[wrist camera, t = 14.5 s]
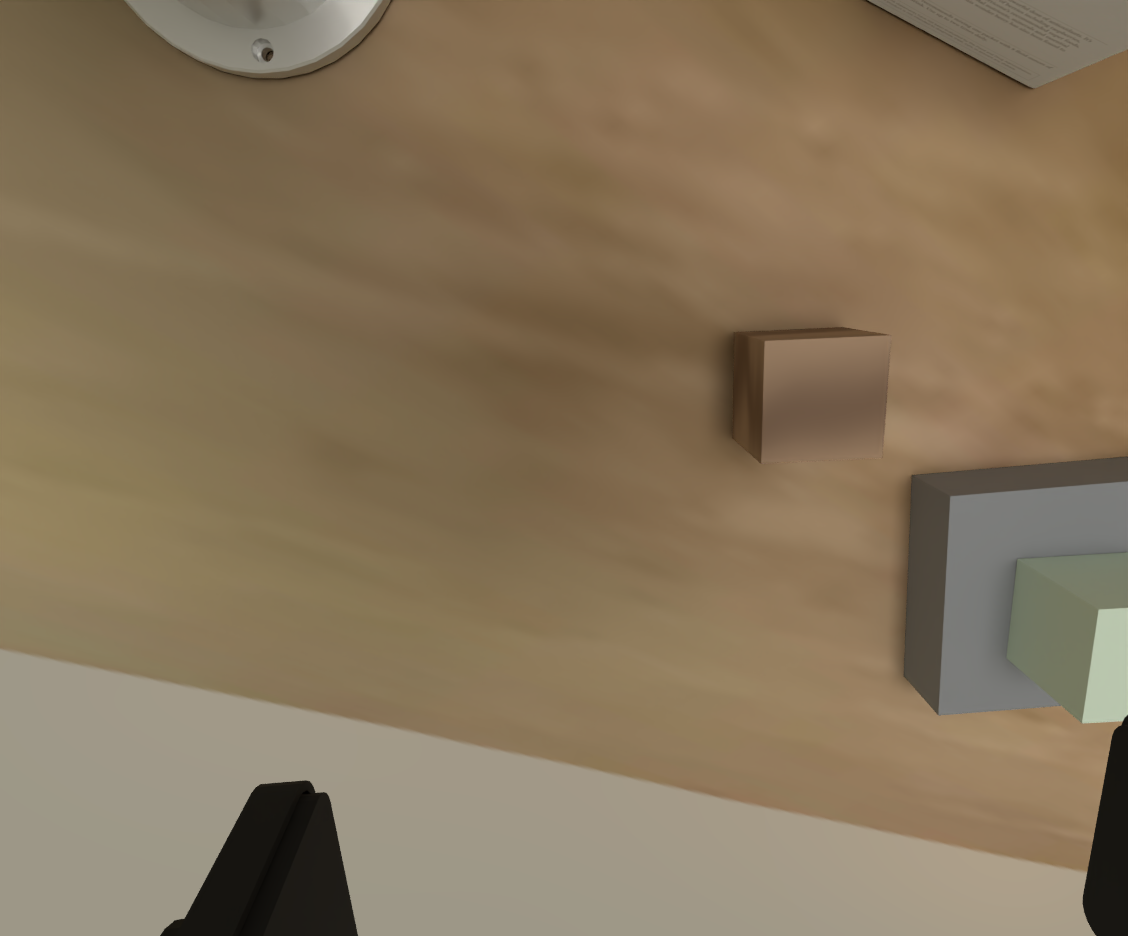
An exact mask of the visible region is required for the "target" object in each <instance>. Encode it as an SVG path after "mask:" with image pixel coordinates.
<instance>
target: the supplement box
mask: <svg viewBox="0 0 1128 936" xmlns="http://www.w3.org/2000/svg"><path fill="white" fill-rule="evenodd" d="M868 1H870V2H871V3H873V4H875V5H877V6H879V7H881V8H883V9H885V10H886V11H888V12H890V13H892V14H894V15H896V16H898V17H899V18H901V19H903V20H905V21H907V22H909V23H911V24H913V25H914V26H916V27H918V28H920V29H922V30H924V31H926V32H927V33H929V34H931V35H933V36H935V37H937V38H939V39H941V40H942V41H944V42H946V43H948V44H950V45H952V46H954V47H955V48H957V49H959V50H961V51H963V52H965V53H967V54H968V55H970V56H972V57H974V58H976V59H978V60H980V61H981V62H983V63H985V64H987V65H989V66H991V67H993V68H995V69H996V70H998V71H1000V72H1002V73H1004V74H1006V75H1008V76H1010V77H1011V78H1013V79H1015V80H1017V81H1019V82H1021V83H1023V84H1025V85H1027V86H1029V87H1031V88H1037V87H1040V86H1042V85H1044V84H1047V83H1049V82H1051V81H1054V80H1056V79H1058V78H1061V77H1063V76H1065V75H1068V74H1070V73H1073V72H1075V71H1077V70H1080V69H1082V68H1085V67H1087V66H1089V65H1092V64H1094V63H1096V62H1099V61H1101V60H1103V59H1106V58H1108V57H1110V56H1113V55H1115V54H1117V53H1120V52H1123V51H1125V50H1127V49H1128V0H868Z"/></svg>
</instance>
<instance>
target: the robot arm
mask: <svg viewBox="0 0 1128 936" xmlns="http://www.w3.org/2000/svg"><path fill="white" fill-rule="evenodd" d="M124 1H125V2H126V3H127V4H128V5H129V7H130V8H131V9H132V10H133V11H134V12H135V13H136V14H137V15H138V17H139V18H140V19H141V20H142V21H143V22H144V23H145V24H146V25H147V26H148V27H150V28H151V29H152V30H153V31H155V32H156V33H157V34H158V35H160V36H161V37H162V38H163V39H165V40H166V41H167V42H168V43H169V44H171V45H172V46H174V47H175V48H177V49H179V50H180V51H182V52H184V53H185V54H187V55H189V56H190V57H192V58H193V59H195V60H197V61H200V62H202V63H204V64H207V65H209V66H211V67H214V68H216V69H218V70H221V71H223V72H227V73H232V74H236V75H241V76H245V77H250V78H286V77H291V76H295V75H300V74H305V73H310V72H312V71H314V70H316V69H319V68H321V67H323V66H325V65H328V64H330V63H332V62H334V61H336V60H337V59H339V58H340V57H341V56H343V55H344V54H346V53H347V52H348V51H350V50H351V49H352V48H354V47H355V46H356V45H358V44H359V43H360V42H361V41H362V40H363V38H364V37H365V36H366V35H367V34H368V33H369V32H370V31H371V29H372V28H373V27H374V26H375V25H376V24H377V23H378V22H379V20H380V18H381V17H382V15H383V13H384V11H385V10H386V8H387V6H388V5H389V3H390V1H391V0H124ZM269 51H274V53H273V57H272V59H271V60H270V61H269V62H267V61H266V54H267V53H268V52H269ZM1083 908H1084V913H1085V915H1086V918H1087V921H1088V923H1089V925H1090V927H1091V929H1092V930H1093V932H1094V933H1095V935H1096V936H1128V715H1127V716H1126V717H1125V718H1124V720H1123V723H1122V725H1121V726H1118V727H1117V728H1116V729H1115V730H1114V733H1113V736H1112V740H1111V746H1110V751H1109V757H1108V762H1107V768H1106V773H1105V779H1104V784H1103V790H1102V795H1101V800H1100V806H1099V811H1098V817H1097V822H1096V828H1095V833H1094V839H1093V844H1092V850H1091V855H1090V861H1089V866H1088V872H1087V877H1086V883H1085V888H1084V894H1083ZM160 936H358V934H357V929H356V924H355V920H354V915H353V910H352V905H351V900H350V895H349V890H348V885H347V881H346V875H345V871H344V866H343V861H342V856H341V851H340V846H339V841H338V836H337V831H336V826H335V822H334V817H333V812H332V807H331V802H330V799H329V796H328V795H327V793H324V792H323V793H315V790H314V787H313V785H312V784H311V783H310V781H295V782H283V783H271V784H260V785H259V786H257V787H256V788H255V789H254V791H253V792H252V793H251V795H250V797H249V799H248V801H247V803H246V804H245V806H244V808H243V811H242V812H241V814H240V816H239V818H238V820H237V821H236V823H235V825H234V827H233V829H232V831H231V833H230V835H229V836H228V838H227V840H226V842H225V844H224V846H223V848H222V850H221V852H220V853H219V855H218V857H217V859H216V861H215V863H214V865H213V867H212V868H211V870H210V872H209V874H208V876H207V878H206V880H205V882H204V883H203V885H202V887H201V889H200V891H199V893H198V895H197V897H196V898H195V900H194V902H193V904H192V906H191V908H190V910H189V912H188V914H187V915H186V917H185V919H180V920H175V921H174V922H173V923H171V924H170V925H169V926H168V927H167V928H165V929H164V931H163V932H162V934H161V935H160Z"/></svg>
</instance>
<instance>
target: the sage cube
mask: <svg viewBox="0 0 1128 936" xmlns="http://www.w3.org/2000/svg"><path fill="white" fill-rule="evenodd" d="M1006 658H1007V659H1008V660H1009V661H1010V662H1011V663H1013V664H1014V665H1015V666H1016V667H1017V668H1018V669H1019V670H1021V671H1022V672H1023V673H1024V674H1025V675H1026V676H1028V677H1029V678H1030V679H1031V680H1032V681H1033V682H1035V683H1036V684H1037V685H1038V686H1039V687H1040V688H1042V689H1043V690H1044V691H1045V692H1046V693H1047V694H1048V695H1050V696H1051V697H1052V698H1053V699H1054V700H1055V701H1057V702H1058V703H1059V704H1060V705H1061V706H1062V707H1064V708H1065V709H1066V710H1067V711H1068V712H1069V713H1070V714H1072V715H1073V716H1074V717H1075V718H1076V719H1077V720H1079V721H1080V722H1081V723H1098V722H1115V721H1123V720H1124V718H1125V717H1126V716H1127V715H1128V552H1124V553H1108V554H1091V555H1074V556H1057V557H1041V558H1024V559H1017V567H1016V576H1015V585H1014V594H1013V603H1012V612H1011V621H1010V630H1009V639H1008V647H1007V657H1006Z"/></svg>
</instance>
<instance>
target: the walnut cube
mask: <svg viewBox="0 0 1128 936" xmlns="http://www.w3.org/2000/svg"><path fill="white" fill-rule="evenodd" d="M890 348H891V335H887V334H881V333H875V332H868V331H862V330H856V329H850V328H844V327H838V328H817V329H795V330H773V331H752V332H734V374H733V435H732V438H733V439H734V440H735V441H736V442H737V443H738V444H740V445H741V446H742V447H743V448H744V449H745V450H746V451H747V452H749V453H750V454H751V455H752V456H753V457H754V458H755V459H756V460H758V461H759V462H760V463H761V464H767V463H789V462H810V461H832V460H854V459H875V458H883V444H884V430H885V417H886V403H887V389H888V375H889V361H890Z"/></svg>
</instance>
